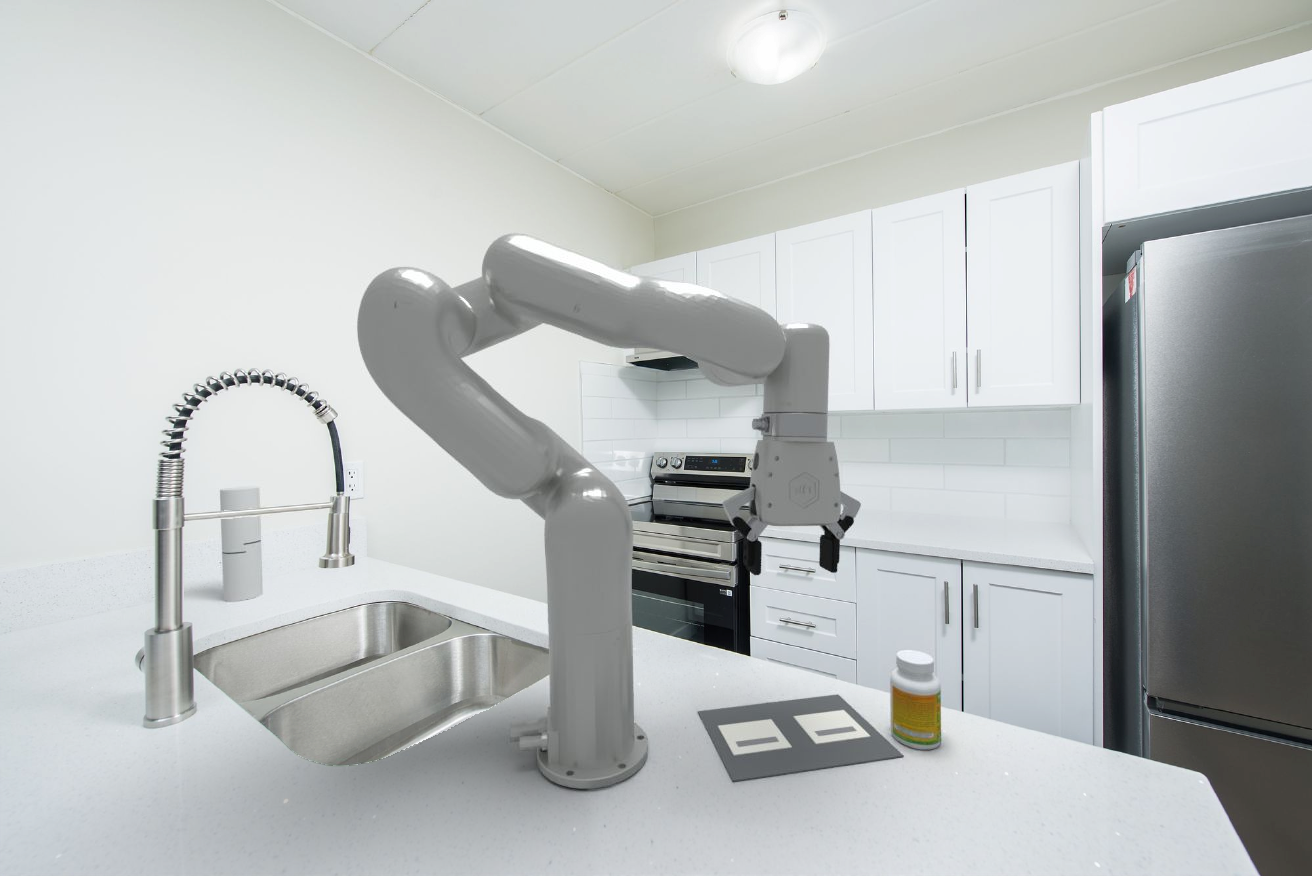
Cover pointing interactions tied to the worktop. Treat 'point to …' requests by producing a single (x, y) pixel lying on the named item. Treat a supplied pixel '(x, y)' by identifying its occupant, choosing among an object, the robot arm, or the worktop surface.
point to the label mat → (793, 737)
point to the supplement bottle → (915, 701)
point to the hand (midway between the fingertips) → (791, 571)
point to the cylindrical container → (241, 545)
